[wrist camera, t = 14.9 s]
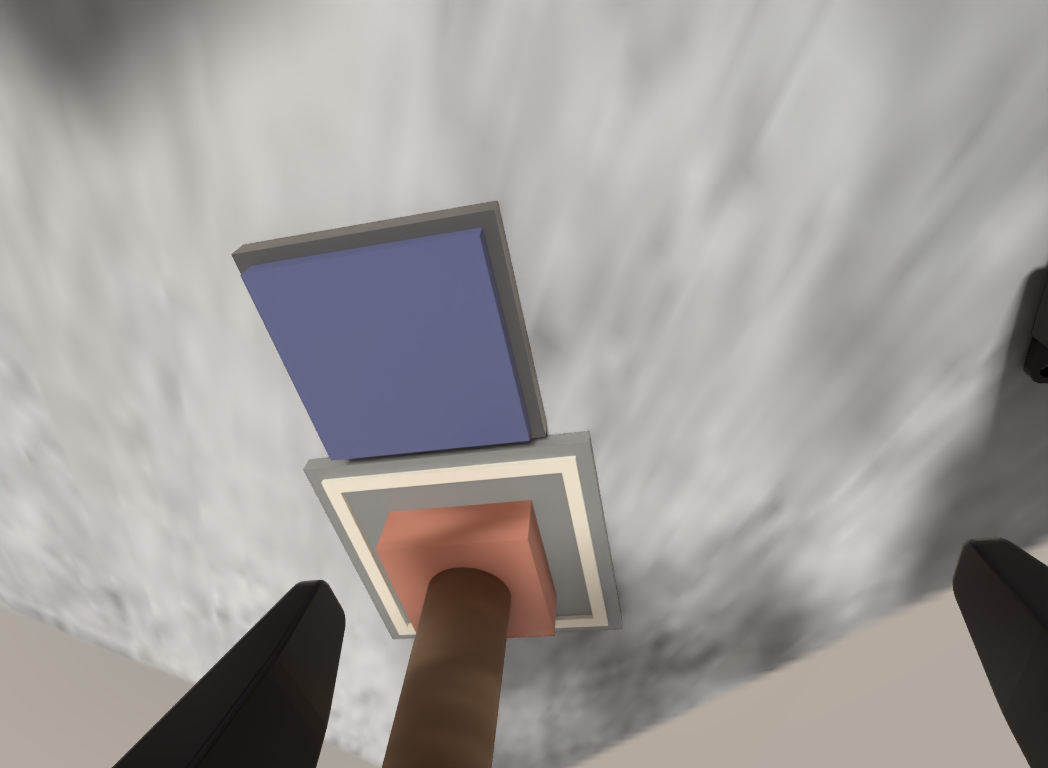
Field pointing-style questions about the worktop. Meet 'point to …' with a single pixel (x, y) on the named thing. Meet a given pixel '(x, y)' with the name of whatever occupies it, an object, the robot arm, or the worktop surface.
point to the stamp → (462, 623)
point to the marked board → (470, 479)
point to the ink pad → (401, 332)
